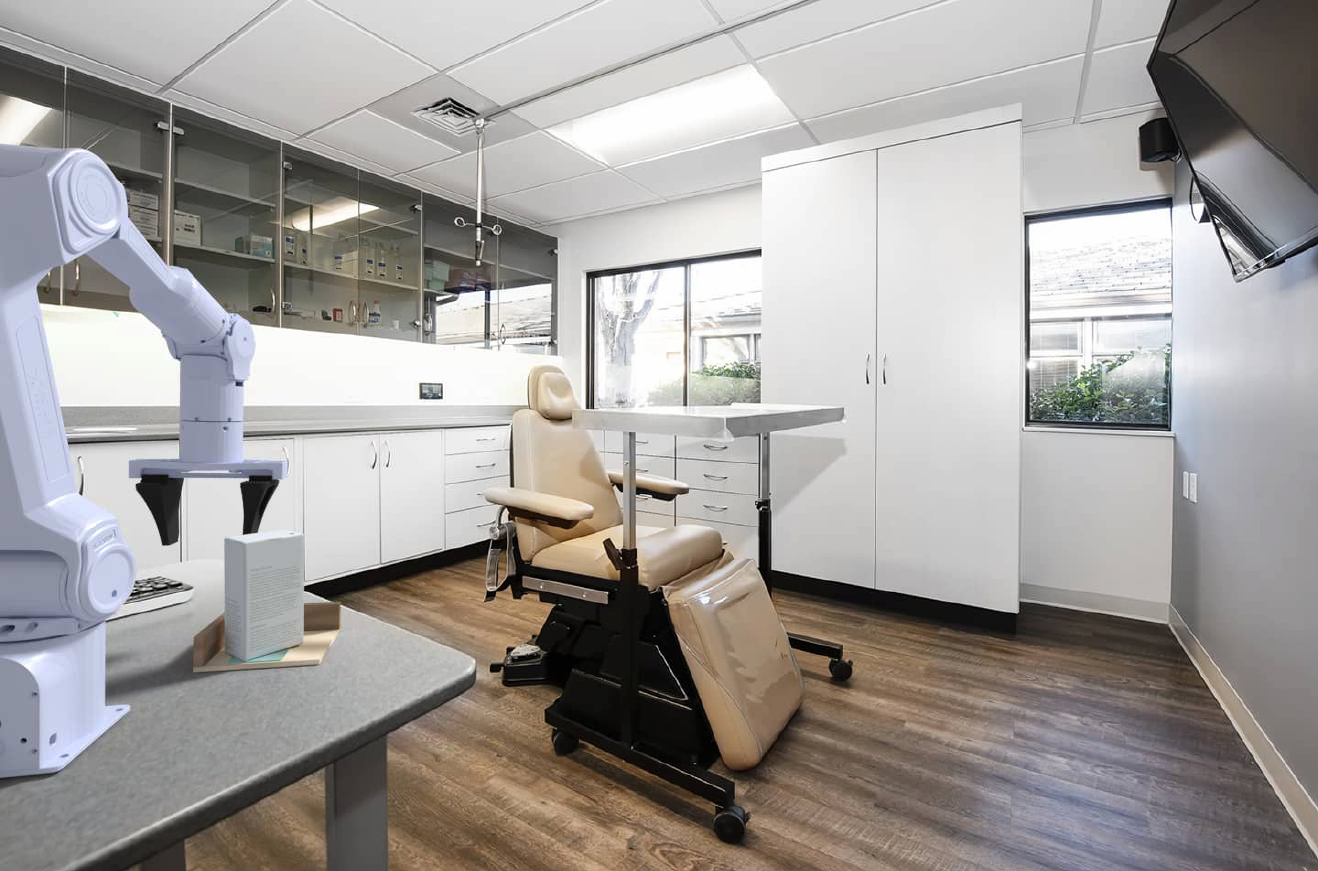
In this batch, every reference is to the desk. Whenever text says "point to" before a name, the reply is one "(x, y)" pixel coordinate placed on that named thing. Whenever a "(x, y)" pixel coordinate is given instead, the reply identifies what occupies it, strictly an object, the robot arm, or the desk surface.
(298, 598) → the skincare box
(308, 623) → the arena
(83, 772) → the desk surface
